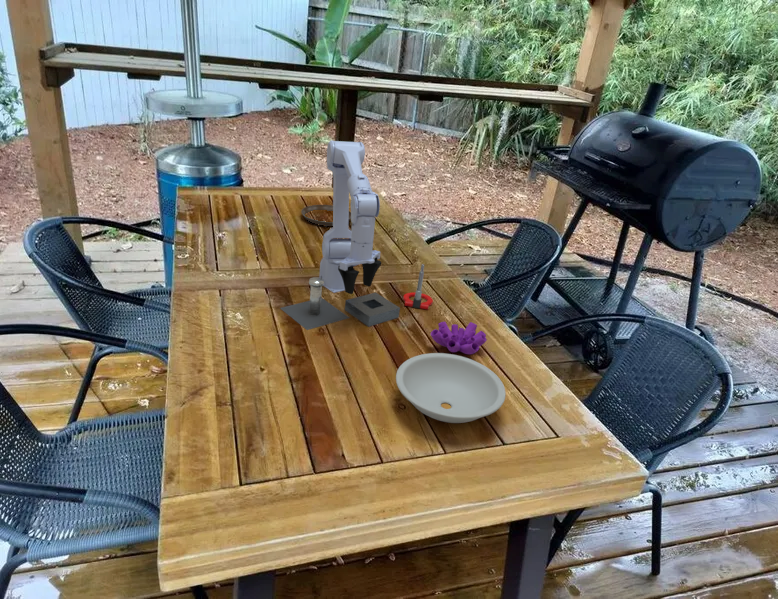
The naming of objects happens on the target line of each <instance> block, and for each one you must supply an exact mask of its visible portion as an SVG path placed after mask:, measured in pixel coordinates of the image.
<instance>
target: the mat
mask: <svg viewBox="0 0 778 599" xmlns="http://www.w3.org/2000/svg"><path fill="white" fill-rule="evenodd" d="M279 309H280V310H281V311H283V312H284V313H285V314H286V315H288V316H289V317H290V318H291V319H292V320H294V321H295V322H296V323H297V324H299V325H300V326H301V327H303V328H304V329H305V330H306V331H308V330H313V329H316V328H320V327H323V326H327V325H329V324H333V323H337V322H340V321H343V320H347V319H348V320H349V319H350V316H348V315H347V314H345V313H344V312H342V311H341V310H340V309H338V308H337V307H335V306H334V305H332V304H331V303H330V302H329V301H327V300H326V299H325V298H324V297H321V308H320V314H319V315H311V314H310V313H309V310H310V300H307V301H303V302H299V303H295V304H291V305H286V306H282V307H280V308H279Z"/></svg>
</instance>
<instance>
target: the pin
mask: <svg viewBox="0 0 778 599" xmlns="http://www.w3.org/2000/svg"><path fill="white" fill-rule="evenodd" d="M308 284H309V285H310V294H309V295H310V297H309V301H310V310H309V313H310V314H311V315H319V314H320V308H321V298H322V292H323V290H322V289H323V287H324V286H323V285H324V280H323V279H322V278H319V276H318V277H317V276H316V277H315V276H314V277H311V278H309V279H308Z"/></svg>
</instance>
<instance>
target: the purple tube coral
mask: <svg viewBox="0 0 778 599" xmlns="http://www.w3.org/2000/svg"><path fill="white" fill-rule="evenodd" d="M477 328H478V325H477V324H476V323H473V321H472V322H471V321H470V322H469V323H468V324H467V326H466V327H465V328H464V327H459V325H458V324H456V323H455V324H451V330H450V327H449V326H448V324H447V322H446V321H441V322H439V323H438V329H437V328H435V329H433V330H432V331H431V332H430V336H431V338H432V340H433V341H434V342H436V343H437V344H438V345H440V346H442V347H445V348H447V349H448V351H449V352H451V353H458V352H460V353H463V354H465V355H474V354H475V353H477V352H478V351H479V350H480V347H481V346H482V345H483V344H485V343H486V342H487V341H488V340H487V337H486V336H487V335H486V333H485V332H484V331H483V330H480V331H479V332H477V333H476V330H477Z"/></svg>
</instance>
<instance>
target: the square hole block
mask: <svg viewBox="0 0 778 599" xmlns="http://www.w3.org/2000/svg"><path fill="white" fill-rule="evenodd" d="M400 310H401V307H400V306H398V305H396V304H395V303H393V302H392V301H390V300H388V299H387V298H385V297H384V296H382V295H380V294H379V293H377V292H373V293H369V294H368V293H367V294H365V295H361V296H360V295H359V296H357V297H352V298H347V299H345V302H344V311H345V312H347V313H348V314H350V315H351V316H352V317H354V318H355V319H357V320H358V321H359V322H361V323H362V324H364V325H365V326H366V327H368V328H369V327H372V326H375V325H379V324H382V323H386V322H389V321H392V320H396V319H399V318H400V312H401V311H400Z"/></svg>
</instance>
